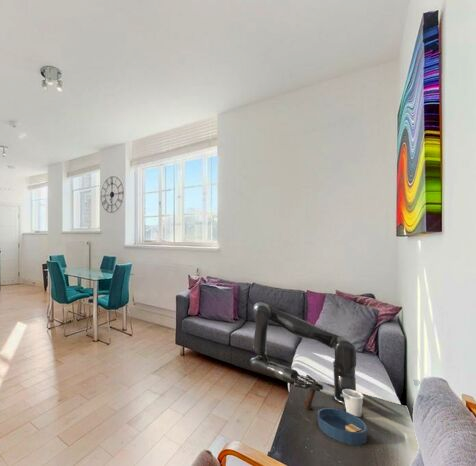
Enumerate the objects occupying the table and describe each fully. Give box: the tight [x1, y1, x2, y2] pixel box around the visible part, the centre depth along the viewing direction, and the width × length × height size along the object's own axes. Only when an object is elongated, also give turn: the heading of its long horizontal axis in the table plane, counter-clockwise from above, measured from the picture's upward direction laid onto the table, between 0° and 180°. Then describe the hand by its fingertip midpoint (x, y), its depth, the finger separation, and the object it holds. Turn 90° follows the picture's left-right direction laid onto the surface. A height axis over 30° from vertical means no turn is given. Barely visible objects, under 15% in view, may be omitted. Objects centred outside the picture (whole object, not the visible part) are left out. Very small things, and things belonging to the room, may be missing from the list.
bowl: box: [317, 407, 368, 446], centre depth 125 cm, size 17×17×6 cm
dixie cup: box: [342, 389, 365, 418], centre depth 138 cm, size 8×8×10 cm
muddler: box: [302, 380, 319, 411], centre depth 140 cm, size 4×4×15 cm
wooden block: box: [345, 424, 362, 432], centre depth 121 cm, size 4×4×4 cm
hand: (321, 388), depth 137 cm, fingers closed on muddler, 2 cm apart
